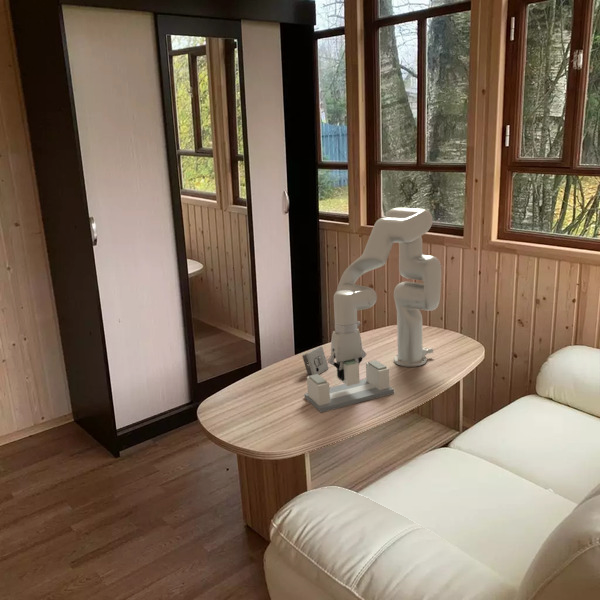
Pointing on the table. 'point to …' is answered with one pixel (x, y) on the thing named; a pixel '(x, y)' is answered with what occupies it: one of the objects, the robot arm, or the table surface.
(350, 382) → the block
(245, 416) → the table surface
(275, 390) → the table surface
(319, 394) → the mounted modules
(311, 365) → the electrical switch
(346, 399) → the rail board
